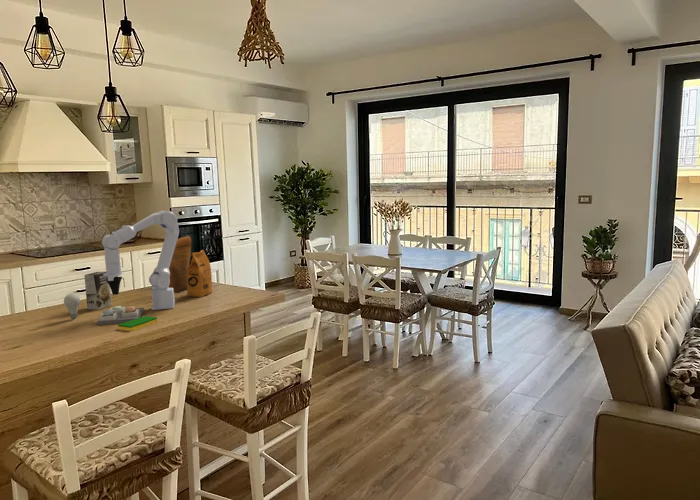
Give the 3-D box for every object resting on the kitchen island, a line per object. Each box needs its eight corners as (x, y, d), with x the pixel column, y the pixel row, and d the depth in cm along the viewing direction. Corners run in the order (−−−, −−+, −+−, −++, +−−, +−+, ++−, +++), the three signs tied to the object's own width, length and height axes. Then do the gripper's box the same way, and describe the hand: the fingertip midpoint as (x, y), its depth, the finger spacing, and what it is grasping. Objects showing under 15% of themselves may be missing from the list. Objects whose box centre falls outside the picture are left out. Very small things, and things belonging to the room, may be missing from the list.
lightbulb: (85, 317, 216) (82, 292, 214) (73, 321, 210) (70, 295, 209) (74, 316, 218) (71, 291, 216) (62, 320, 212) (59, 295, 211)
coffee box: (99, 310, 229) (96, 274, 227) (86, 309, 230) (83, 274, 228) (112, 305, 238) (109, 271, 235) (100, 304, 239) (97, 270, 237)
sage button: (122, 310, 221) (122, 305, 220) (120, 312, 217) (120, 307, 217) (113, 310, 220) (113, 306, 219) (111, 312, 216) (111, 308, 216)
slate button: (113, 314, 210) (113, 309, 210) (111, 316, 207) (111, 311, 207) (104, 314, 210) (103, 310, 209) (102, 317, 206) (101, 312, 206)
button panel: (143, 310, 226) (143, 304, 225) (137, 321, 208) (136, 314, 208) (107, 313, 222) (106, 306, 222) (97, 325, 205) (96, 318, 204)
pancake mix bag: (198, 287, 273) (195, 235, 269) (173, 294, 256) (169, 239, 252) (188, 286, 276) (185, 235, 272) (163, 294, 259) (159, 239, 255)
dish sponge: (117, 330, 198) (117, 324, 198) (145, 321, 211) (144, 315, 210) (131, 332, 195) (130, 326, 195) (158, 322, 208) (157, 317, 207)
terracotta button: (135, 310, 216) (135, 305, 215) (134, 312, 212) (133, 307, 212) (126, 311, 215) (126, 306, 215) (125, 313, 211) (124, 308, 211)
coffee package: (184, 296, 251) (181, 253, 248) (198, 291, 263) (195, 249, 260) (201, 297, 248) (198, 253, 245) (215, 292, 260) (212, 249, 257)
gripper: (106, 260, 221) (109, 291, 223) (98, 266, 208) (101, 298, 209) (123, 259, 223) (126, 290, 225) (117, 265, 209) (120, 297, 211)
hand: (115, 294), depth 217 cm, fingers closed
